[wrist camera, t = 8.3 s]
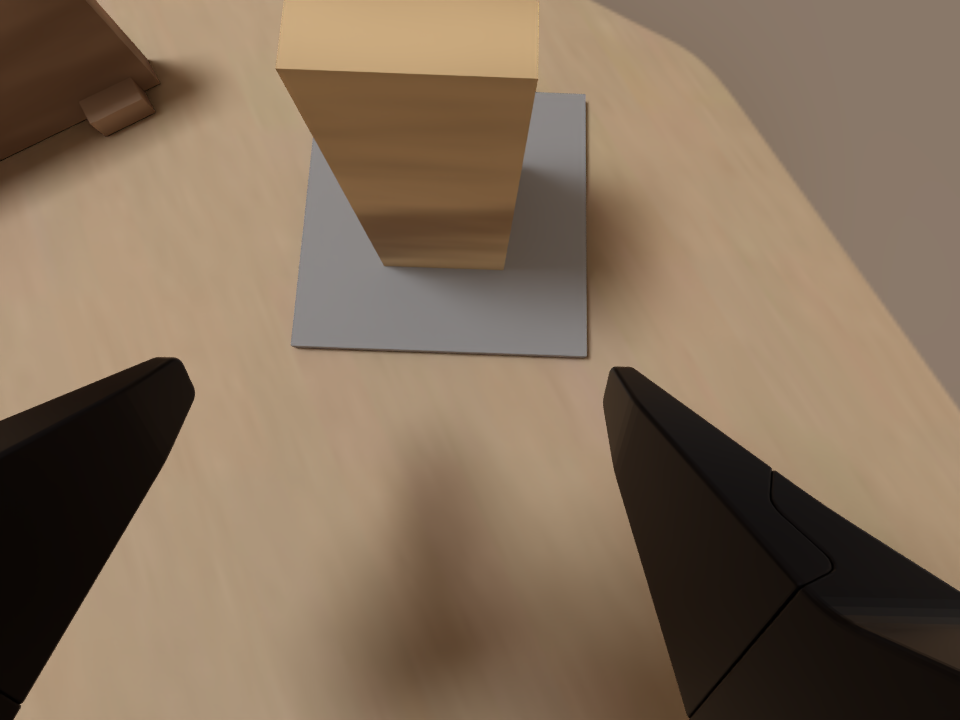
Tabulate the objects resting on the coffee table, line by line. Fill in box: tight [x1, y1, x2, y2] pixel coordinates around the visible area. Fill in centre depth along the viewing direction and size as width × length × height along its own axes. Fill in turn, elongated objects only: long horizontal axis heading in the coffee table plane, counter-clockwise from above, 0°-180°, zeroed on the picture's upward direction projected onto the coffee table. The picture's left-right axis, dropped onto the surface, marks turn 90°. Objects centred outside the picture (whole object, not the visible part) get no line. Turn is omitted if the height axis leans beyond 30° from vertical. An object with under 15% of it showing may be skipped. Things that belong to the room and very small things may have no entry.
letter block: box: [276, 0, 539, 270], centre depth 14 cm, size 5×5×10 cm
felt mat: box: [291, 92, 587, 358], centre depth 19 cm, size 12×12×1 cm
